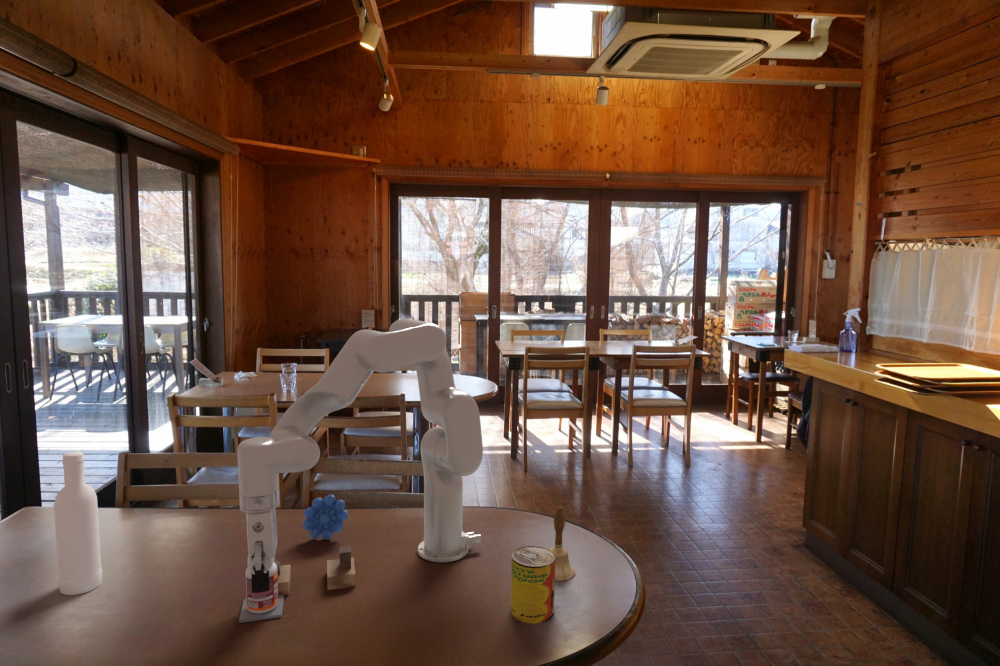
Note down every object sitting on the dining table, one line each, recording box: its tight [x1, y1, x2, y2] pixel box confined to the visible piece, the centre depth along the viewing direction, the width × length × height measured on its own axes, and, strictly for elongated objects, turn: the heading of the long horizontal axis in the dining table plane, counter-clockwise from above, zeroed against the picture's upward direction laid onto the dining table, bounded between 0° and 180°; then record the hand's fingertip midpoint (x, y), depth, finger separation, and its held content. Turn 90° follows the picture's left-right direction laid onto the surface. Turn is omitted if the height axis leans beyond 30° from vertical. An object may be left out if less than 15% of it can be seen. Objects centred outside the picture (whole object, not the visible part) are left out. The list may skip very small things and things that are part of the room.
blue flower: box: [302, 494, 349, 541], centre depth 161 cm, size 12×7×12 cm, turn 94°
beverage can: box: [510, 545, 556, 624], centre depth 128 cm, size 9×9×12 cm
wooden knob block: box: [274, 545, 356, 597], centre depth 138 cm, size 20×8×7 cm, turn 106°
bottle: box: [53, 451, 103, 596], centre depth 134 cm, size 8×8×30 cm
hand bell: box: [548, 506, 576, 582], centre depth 145 cm, size 8×8×16 cm
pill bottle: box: [244, 554, 278, 613], centre depth 128 cm, size 6×6×11 cm
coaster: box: [238, 594, 285, 624], centre depth 128 cm, size 8×8×1 cm
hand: (263, 578), depth 128 cm, fingers open, 9 cm apart
